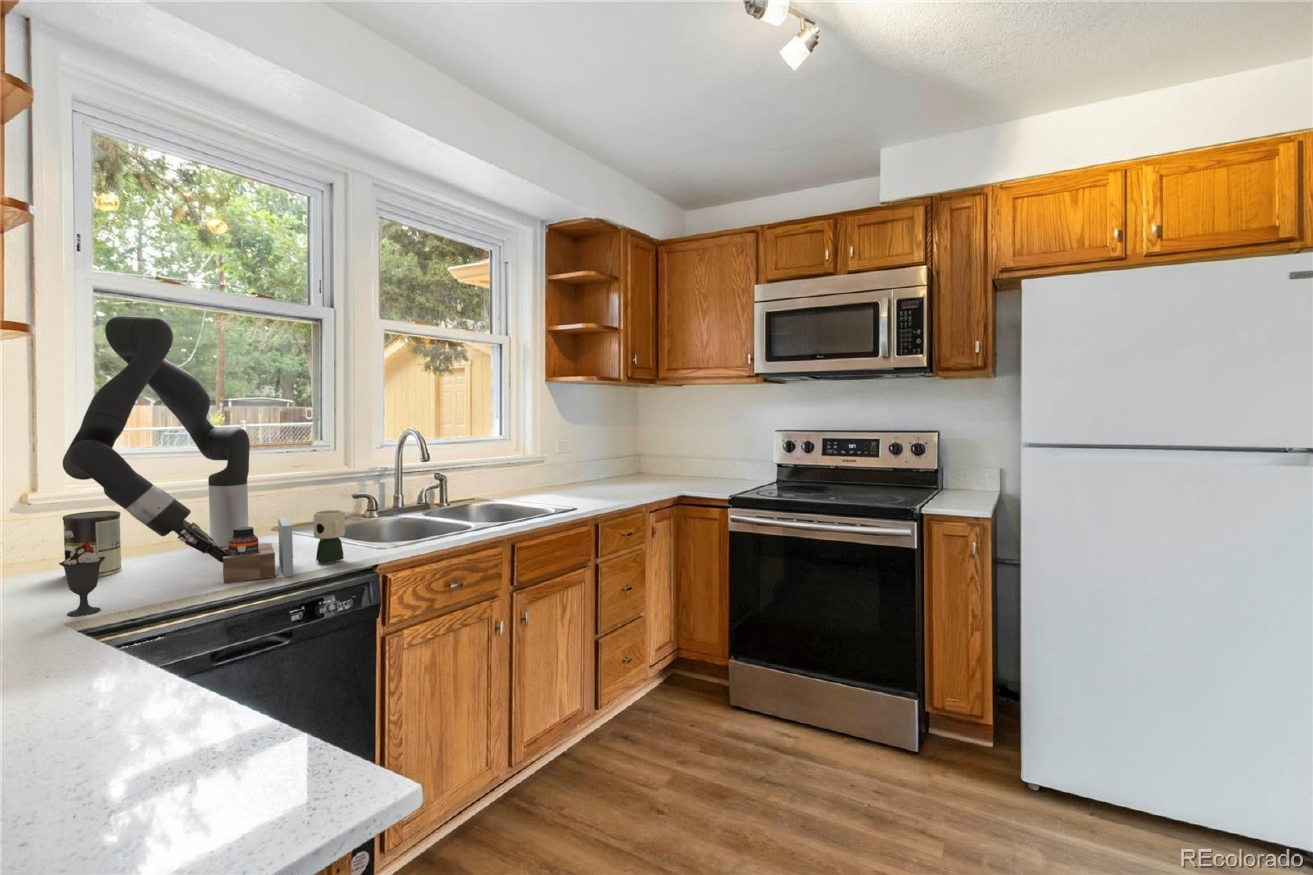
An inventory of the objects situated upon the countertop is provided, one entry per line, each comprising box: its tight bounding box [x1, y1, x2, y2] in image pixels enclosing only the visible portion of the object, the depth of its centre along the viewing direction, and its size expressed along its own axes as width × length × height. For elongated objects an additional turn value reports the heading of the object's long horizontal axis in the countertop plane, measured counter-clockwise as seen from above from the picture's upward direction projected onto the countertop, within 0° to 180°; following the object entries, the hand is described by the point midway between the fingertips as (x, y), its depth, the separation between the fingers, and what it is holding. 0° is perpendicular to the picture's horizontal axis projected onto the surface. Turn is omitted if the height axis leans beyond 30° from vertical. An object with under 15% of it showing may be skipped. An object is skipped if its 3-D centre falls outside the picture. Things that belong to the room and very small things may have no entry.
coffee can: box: [62, 510, 123, 578], centre depth 153 cm, size 10×10×14 cm
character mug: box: [313, 509, 346, 564], centre depth 165 cm, size 11×7×13 cm, turn 46°
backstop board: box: [277, 516, 294, 578], centre depth 157 cm, size 13×2×12 cm, turn 34°
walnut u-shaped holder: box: [222, 542, 276, 584], centre depth 153 cm, size 13×10×6 cm
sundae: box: [58, 535, 105, 617], centre depth 125 cm, size 7×7×15 cm
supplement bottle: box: [229, 526, 259, 556], centre depth 152 cm, size 6×6×11 cm
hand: (226, 559), depth 150 cm, fingers closed
